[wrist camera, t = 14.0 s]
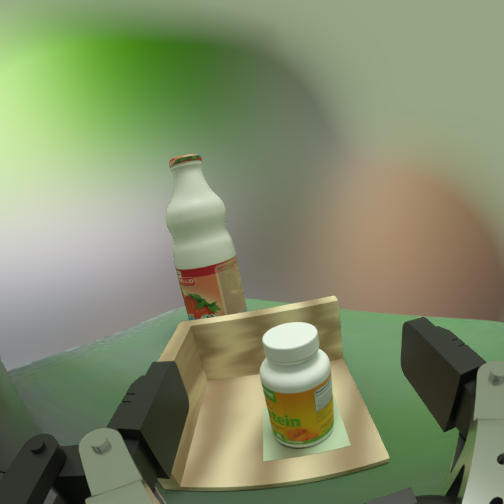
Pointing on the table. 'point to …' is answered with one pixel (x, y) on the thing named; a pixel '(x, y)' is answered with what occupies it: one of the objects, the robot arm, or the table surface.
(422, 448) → the table surface
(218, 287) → the fruit juice
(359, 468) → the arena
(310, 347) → the supplement bottle
